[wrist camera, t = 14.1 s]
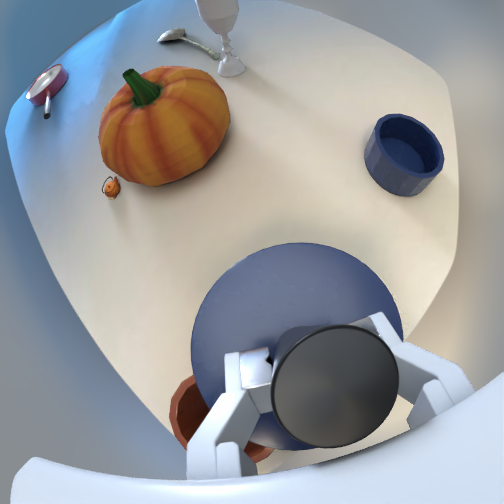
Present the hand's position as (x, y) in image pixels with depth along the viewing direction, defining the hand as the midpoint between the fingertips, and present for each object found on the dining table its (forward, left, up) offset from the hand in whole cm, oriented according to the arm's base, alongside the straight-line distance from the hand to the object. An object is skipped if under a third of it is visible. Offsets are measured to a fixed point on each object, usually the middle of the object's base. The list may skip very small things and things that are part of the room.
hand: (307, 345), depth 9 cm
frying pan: (+73, -15, -22) cm, 77 cm away
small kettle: (+32, -3, -22) cm, 39 cm away
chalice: (+30, -33, -22) cm, 50 cm away
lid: (0, 0, -5) cm, 5 cm away
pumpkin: (+28, -14, -22) cm, 39 cm away
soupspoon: (+45, -38, -22) cm, 63 cm away
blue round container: (-3, -27, -22) cm, 35 cm away
